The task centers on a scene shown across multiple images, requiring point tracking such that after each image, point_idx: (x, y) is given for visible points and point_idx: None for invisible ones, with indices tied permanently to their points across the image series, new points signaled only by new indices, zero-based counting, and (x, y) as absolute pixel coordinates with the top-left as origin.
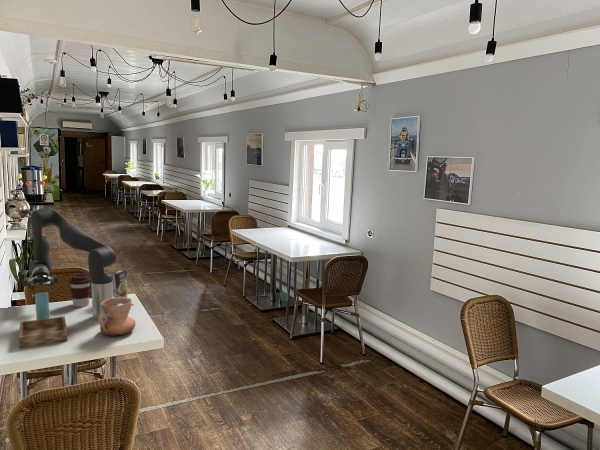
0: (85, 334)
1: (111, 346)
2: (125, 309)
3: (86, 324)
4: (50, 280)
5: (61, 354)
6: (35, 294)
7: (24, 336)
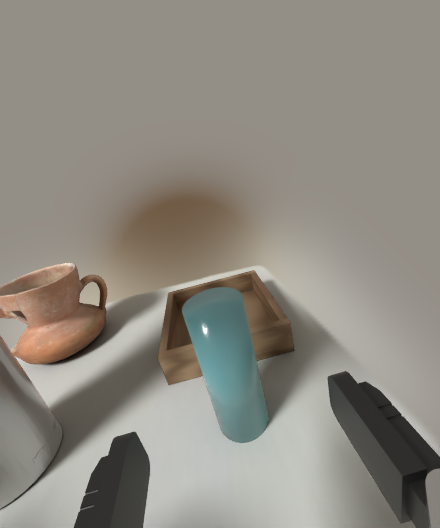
0: (135, 334)
1: (115, 301)
2: (43, 282)
3: (108, 390)
4: (114, 488)
5: (188, 282)
6: (238, 293)
7: (245, 273)
